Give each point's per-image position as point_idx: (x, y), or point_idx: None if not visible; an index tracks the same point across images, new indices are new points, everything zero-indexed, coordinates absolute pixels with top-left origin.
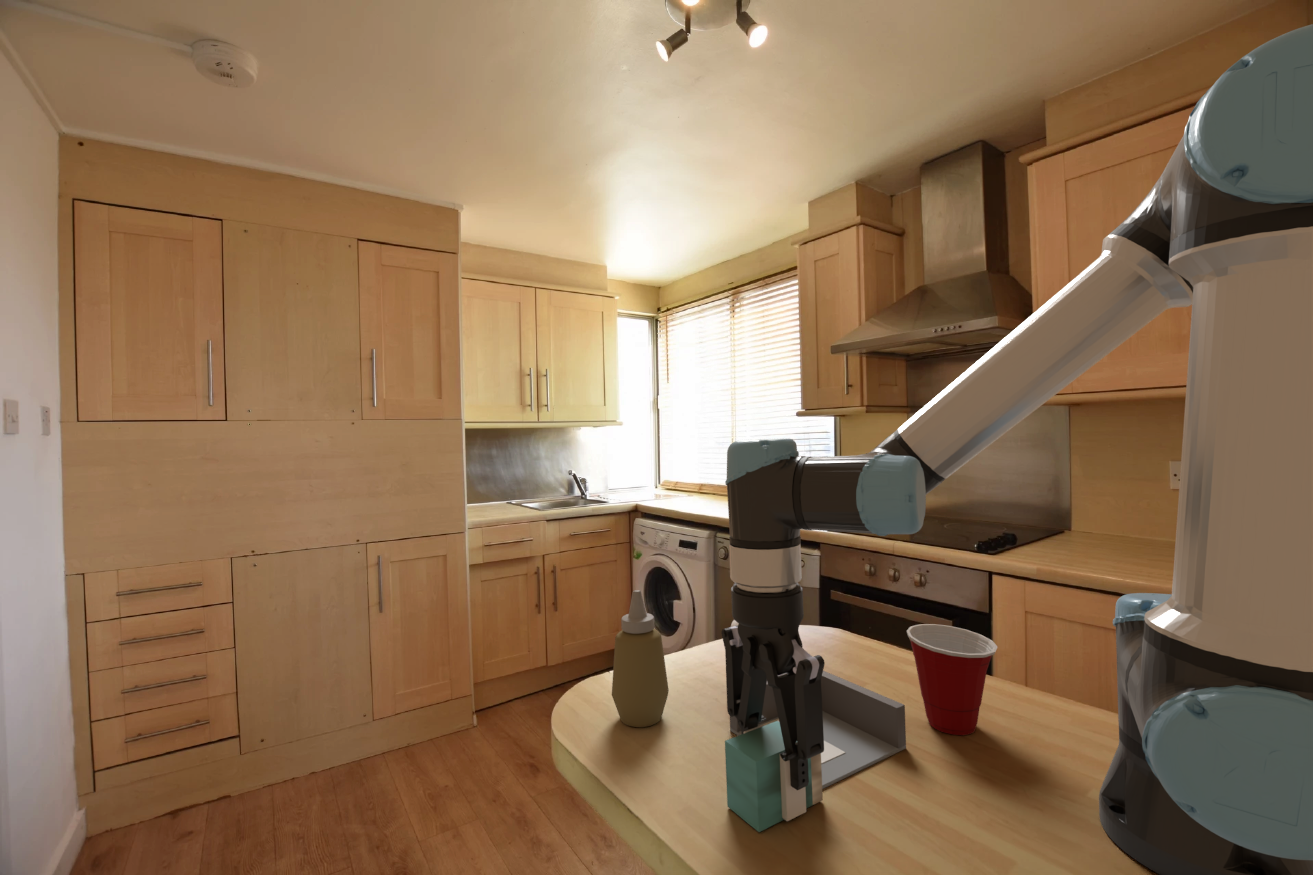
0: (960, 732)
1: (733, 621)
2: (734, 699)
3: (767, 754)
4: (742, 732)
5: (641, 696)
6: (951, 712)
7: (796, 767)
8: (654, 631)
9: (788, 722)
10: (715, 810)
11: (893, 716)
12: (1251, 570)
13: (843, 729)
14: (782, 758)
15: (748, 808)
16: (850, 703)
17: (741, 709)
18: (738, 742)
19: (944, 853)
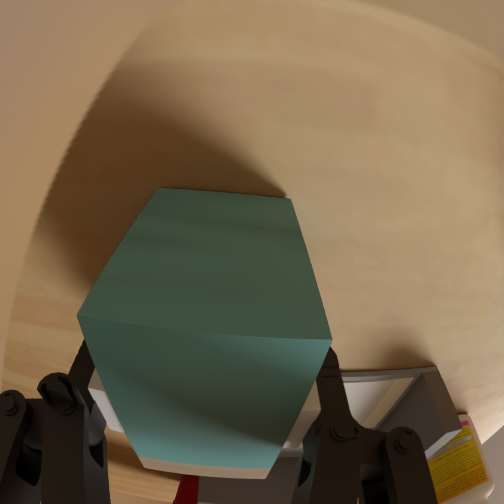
0: (185, 478)
1: (492, 490)
2: (394, 495)
3: (109, 372)
4: (342, 400)
5: None
6: (186, 496)
7: (74, 372)
8: None
9: (44, 497)
10: (306, 166)
11: (204, 490)
12: None
13: (281, 451)
14: (68, 378)
15: (188, 206)
16: (282, 484)
17: (344, 484)
18: (268, 368)
19: (23, 347)
